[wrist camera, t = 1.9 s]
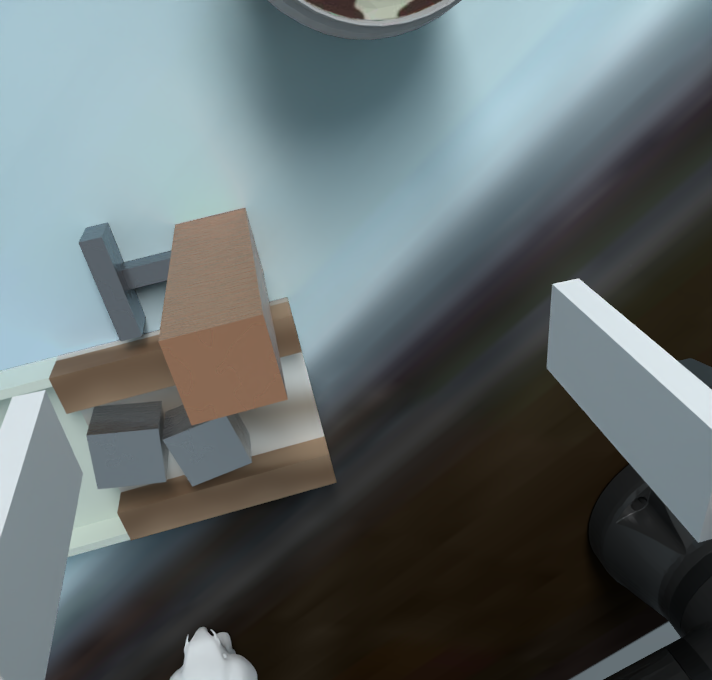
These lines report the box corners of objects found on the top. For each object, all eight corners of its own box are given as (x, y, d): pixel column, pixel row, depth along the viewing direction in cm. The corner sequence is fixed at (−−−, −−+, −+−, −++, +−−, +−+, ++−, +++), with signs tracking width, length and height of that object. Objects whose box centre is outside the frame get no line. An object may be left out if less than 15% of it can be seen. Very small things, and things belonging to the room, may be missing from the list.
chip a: (249, 434, 43) (252, 462, 40) (193, 456, 43) (192, 486, 40) (224, 388, 41) (225, 414, 38) (165, 411, 41) (162, 439, 38)
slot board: (330, 458, 46) (336, 482, 44) (134, 513, 45) (131, 540, 43) (287, 297, 40) (292, 315, 37) (57, 356, 39) (48, 378, 36)
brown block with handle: (267, 286, 39) (293, 418, 27) (125, 322, 38) (87, 475, 26) (240, 190, 36) (256, 290, 24) (86, 227, 35) (22, 350, 23)
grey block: (168, 452, 42) (166, 481, 40) (104, 458, 42) (97, 489, 39) (161, 400, 41) (158, 428, 38) (94, 406, 40) (86, 435, 37)
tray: (134, 513, 45) (131, 539, 43) (-26, 557, 44) (-38, 586, 42) (57, 356, 39) (49, 377, 36) (-133, 404, 38) (-153, 429, 35)
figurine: (242, 598, 51) (246, 666, 46) (263, 661, 55) (269, 730, 50) (155, 621, 50) (149, 693, 45) (183, 683, 54) (181, 755, 49)
